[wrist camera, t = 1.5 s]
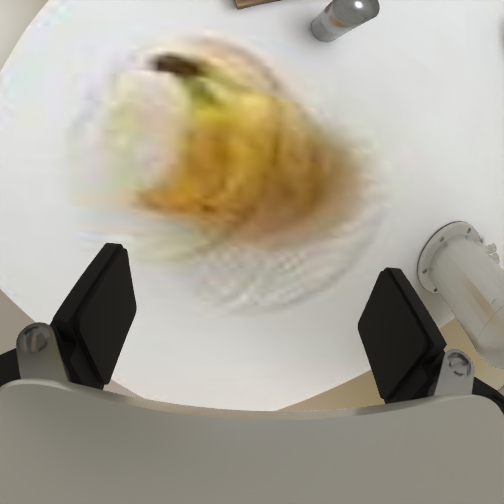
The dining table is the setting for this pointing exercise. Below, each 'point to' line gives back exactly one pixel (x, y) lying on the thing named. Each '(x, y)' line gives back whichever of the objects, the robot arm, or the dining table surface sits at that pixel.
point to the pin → (343, 18)
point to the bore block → (250, 3)
